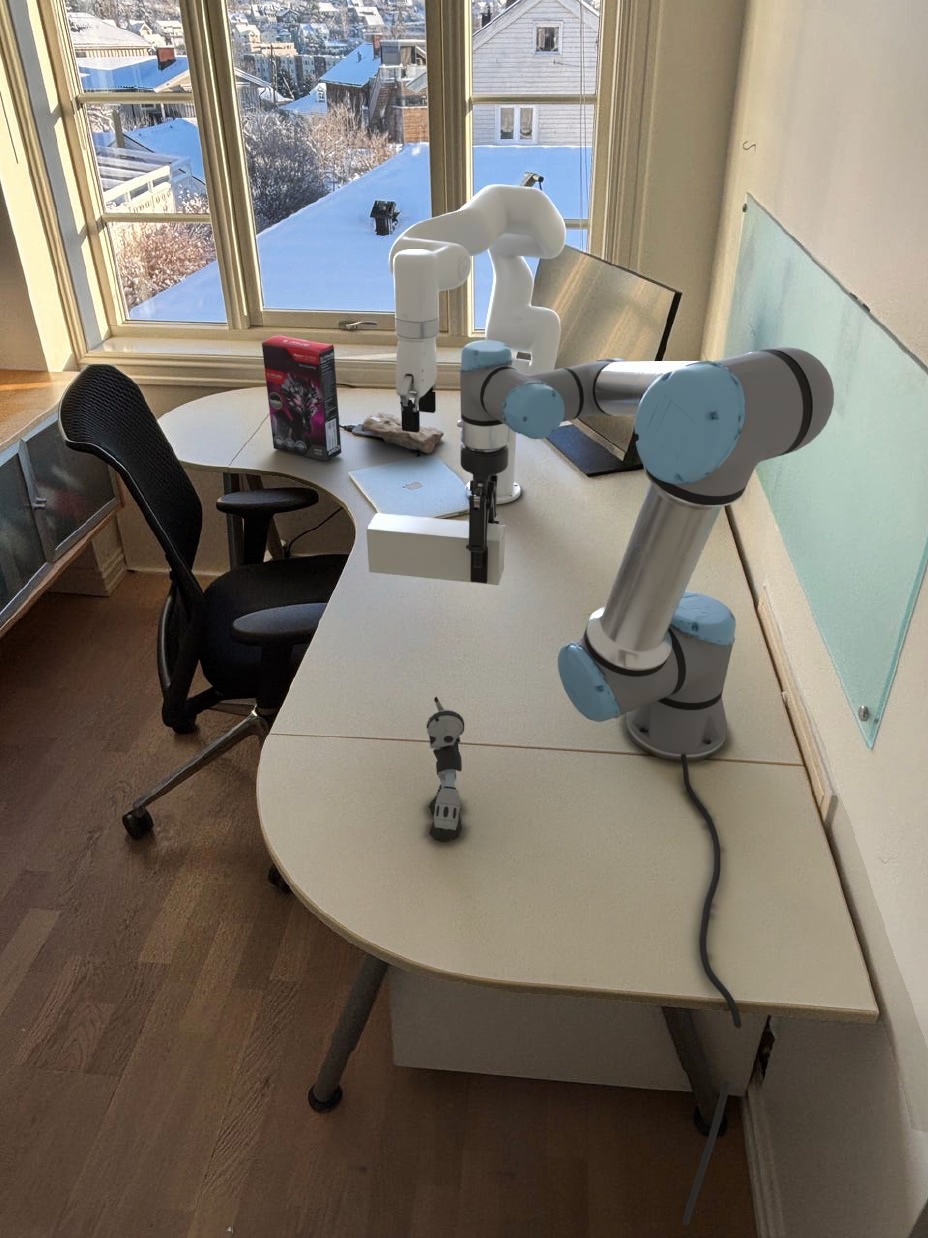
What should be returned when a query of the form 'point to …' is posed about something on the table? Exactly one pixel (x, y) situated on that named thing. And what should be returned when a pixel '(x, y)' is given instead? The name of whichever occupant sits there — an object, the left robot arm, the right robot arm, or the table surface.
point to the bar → (430, 548)
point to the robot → (446, 772)
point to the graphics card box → (302, 396)
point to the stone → (401, 433)
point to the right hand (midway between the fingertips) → (482, 571)
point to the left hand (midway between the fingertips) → (419, 421)
